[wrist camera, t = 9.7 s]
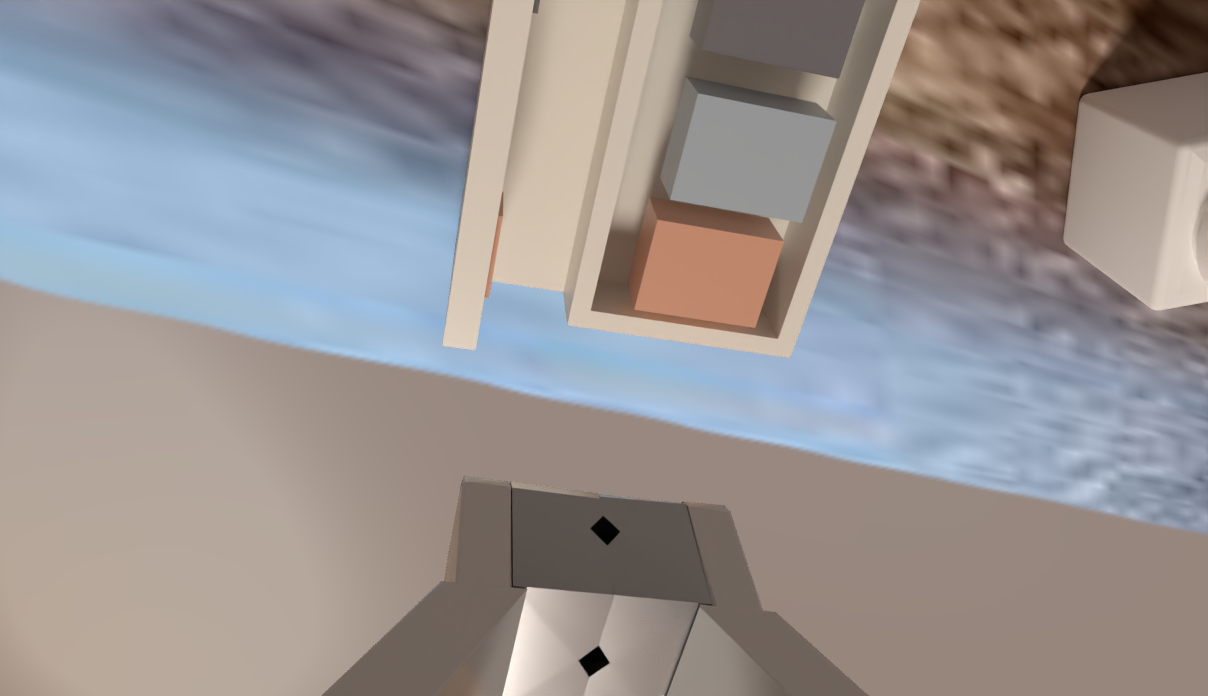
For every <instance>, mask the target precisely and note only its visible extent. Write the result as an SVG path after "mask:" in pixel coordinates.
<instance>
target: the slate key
mask: <svg viewBox="0 0 1208 696" xmlns="http://www.w3.org/2000/svg"><path fill="white" fill-rule="evenodd" d="M836 122H837V121H836V120H835V119H834V118H833V117H832V116H831V115H829V114H828V113H827V112H826V111H825V110H824V109H823V108H822V107H821V106H819V105H818V104H817V103H815V102H811V101H806V100H801V99H796V98H791V97H786V96H781V95H776V94H771V93H766V92H761V91H756V90H752V89H747V88H742V87H737V86H732V85H727V84H722V83H717V82H712V81H707V80H702V79H697V78H693V77H688V76H686V78H685V82H684V86H683V90H682V93H681V97H680V101H679V105H678V109H677V113H676V117H675V121H674V125H673V129H672V133H671V137H670V140H669V144H668V148H667V152H666V156H665V160H664V164H663V168H662V172H661V176H660V178H661V180H662V182H663V185H664V187H665V189H666V192H667V194H668V196H669V198H670V200H674V201H680V202H686V203H691V204H697V205H703V206H708V207H714V208H720V209H725V210H731V211H737V212H742V213H748V214H754V215H759V216H765V217H771V218H776V219H782V220H788V221H793V222H799V223H802V221H803V219H804V216H805V213H806V210H807V207H808V204H809V201H810V198H811V195H812V192H813V189H814V186H815V184H816V181H817V178H818V175H819V172H820V169H821V166H822V163H823V160H824V157H825V154H826V151H827V149H828V146H829V143H830V140H831V137H832V134H833V131H834V128H835V125H836Z"/></svg>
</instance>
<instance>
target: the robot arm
mask: <svg viewBox="0 0 1208 696" xmlns="http://www.w3.org/2000/svg"><path fill="white" fill-rule="evenodd" d="M322 696H868V695H867V694H866V693H865V692H864V691H863V690H862V689H860V688H859V687H858V686H857V685H856V684H855V683H854V682H853V681H852V680H851V679H849V678H848V677H847V676H846V675H845V674H844V673H843V672H842V671H841V670H840V669H838V668H837V667H836V666H835V665H834V664H833V663H832V662H831V661H829V660H828V659H827V658H826V657H825V656H824V655H823V654H822V653H821V652H819V651H818V650H817V649H816V648H815V647H814V646H813V645H812V644H810V642H808V641H807V640H806V639H805V638H804V637H803V636H802V635H801V634H800V633H798V632H797V631H796V630H795V629H794V628H793V627H792V626H790V624H788V623H787V622H786V621H785V620H784V619H783V618H782V617H781V616H779V615H778V614H777V613H776V612H769V611H763V609H762V606H761V603H760V600H759V597H758V594H757V591H756V588H755V585H754V582H753V579H752V576H751V573H750V570H749V567H748V564H747V561H746V558H745V554H744V552H743V549H742V545H741V542H740V539H739V536H738V533H737V530H736V528H735V525H734V521H733V518H732V516H731V512H730V511H729V510H728V509H727V508H726V507H725V506H724V505H715V504H703V503H691V502H681V503H677V502H667V501H659V500H650V499H640V498H631V497H621V496H613V495H604V494H597V493H592V492H584V491H577V490H570V489H562V488H555V487H548V486H541V485H533V484H525V483H519V482H511V481H510V484H509V482H508V481H501V480H493V479H484V478H475V477H469V476H464V477H463V480H462V483H461V486H460V492H459V498H458V503H457V508H456V514H455V520H454V525H453V531H452V537H451V542H450V547H449V553H448V559H447V566H446V573H445V579H444V581H441V582H440V583H439V584H438V585H437V586H436V587H435V588H434V589H433V590H432V591H431V592H429V593H428V594H427V595H426V596H425V597H424V598H423V599H422V600H421V601H420V602H419V603H418V604H417V605H416V606H415V607H414V608H413V609H412V610H411V611H410V612H409V613H408V614H406V615H405V616H404V617H403V618H402V619H401V620H400V621H399V622H398V623H397V624H396V625H395V626H394V627H393V628H392V629H391V630H390V631H389V632H388V633H387V634H386V635H384V637H382V638H381V639H380V640H379V641H378V642H377V643H376V644H375V645H374V646H373V647H372V648H371V649H370V650H369V651H368V652H367V653H366V654H365V655H364V656H363V657H362V658H360V660H358V661H357V662H356V663H355V664H354V665H353V666H352V667H351V668H350V669H349V670H348V671H347V672H346V673H345V674H344V675H343V676H342V677H341V678H340V679H338V680H337V681H336V682H335V683H334V684H333V685H332V686H331V687H330V688H329V689H328V690H327V691H326V692H325V693H324V694H323V695H322Z"/></svg>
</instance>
